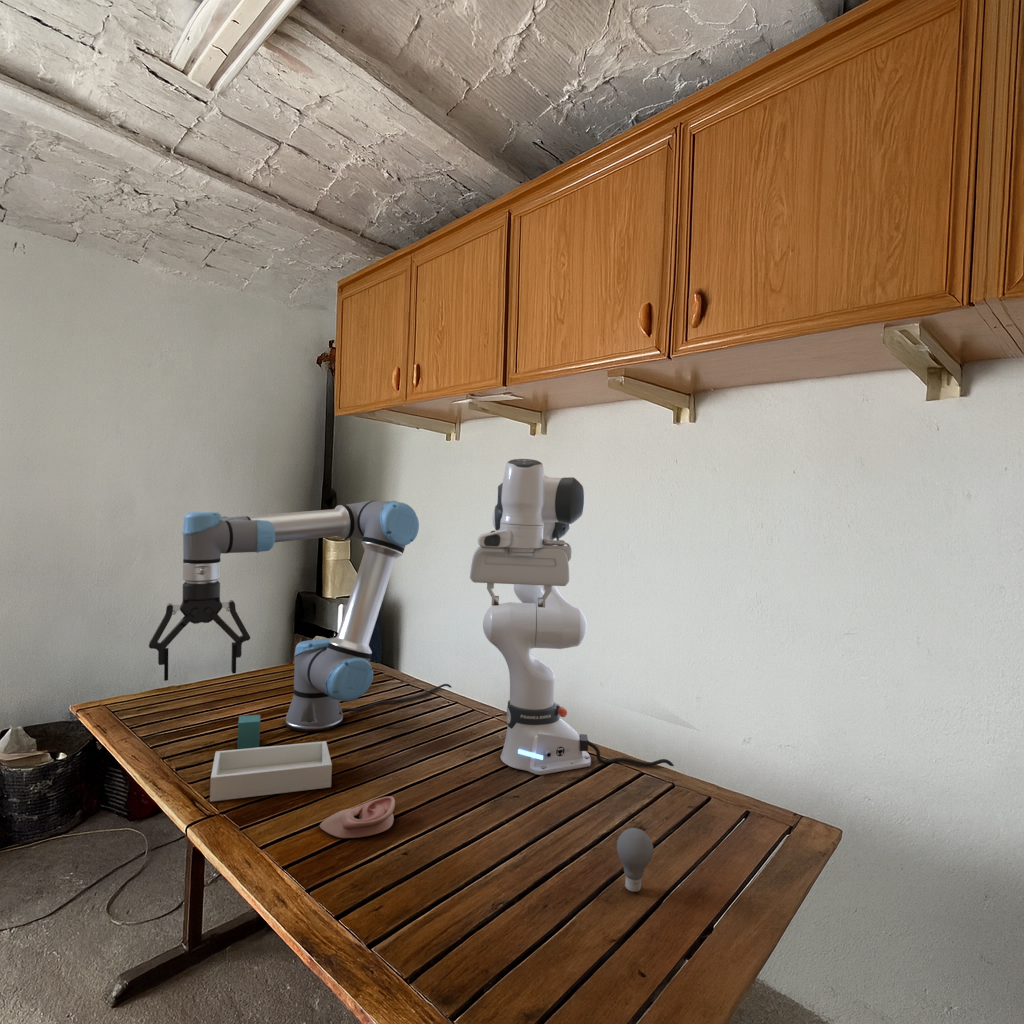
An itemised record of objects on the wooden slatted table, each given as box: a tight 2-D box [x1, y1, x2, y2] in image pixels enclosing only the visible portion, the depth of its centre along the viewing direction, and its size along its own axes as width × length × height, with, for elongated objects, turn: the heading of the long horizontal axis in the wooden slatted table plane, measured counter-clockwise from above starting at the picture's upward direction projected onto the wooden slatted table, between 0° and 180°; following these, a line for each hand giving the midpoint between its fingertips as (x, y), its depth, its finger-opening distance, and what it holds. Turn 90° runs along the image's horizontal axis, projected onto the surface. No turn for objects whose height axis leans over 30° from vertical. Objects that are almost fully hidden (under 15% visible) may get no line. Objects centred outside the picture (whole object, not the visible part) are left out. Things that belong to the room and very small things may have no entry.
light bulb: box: [616, 827, 654, 893], centre depth 106 cm, size 6×6×10 cm
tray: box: [209, 740, 333, 802], centre depth 140 cm, size 24×14×5 cm, turn 111°
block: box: [236, 714, 261, 750], centre depth 158 cm, size 5×5×7 cm
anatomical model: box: [319, 795, 396, 839], centre depth 123 cm, size 13×4×12 cm
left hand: (200, 675), depth 142 cm, fingers open, 13 cm apart
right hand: (518, 606), depth 129 cm, fingers open, 8 cm apart
